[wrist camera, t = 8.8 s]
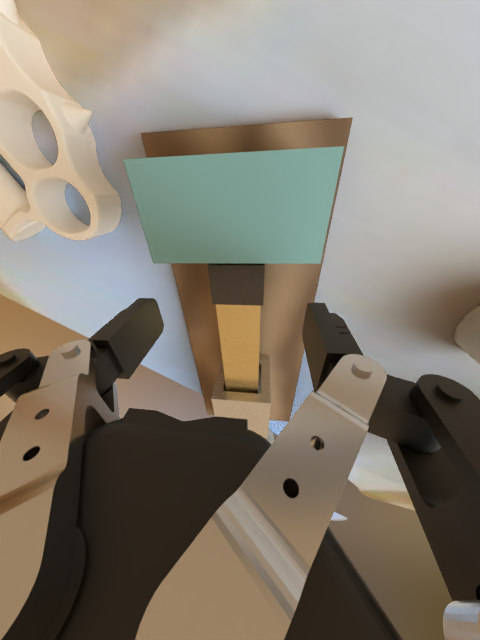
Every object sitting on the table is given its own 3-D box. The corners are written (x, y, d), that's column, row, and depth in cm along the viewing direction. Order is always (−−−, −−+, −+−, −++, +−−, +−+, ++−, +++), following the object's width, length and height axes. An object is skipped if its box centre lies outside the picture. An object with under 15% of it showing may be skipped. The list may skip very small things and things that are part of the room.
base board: (344, 123, 13) (352, 117, 12) (288, 412, 34) (289, 421, 33) (151, 137, 15) (141, 133, 14) (209, 406, 35) (207, 414, 34)
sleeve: (269, 356, 25) (270, 403, 19) (265, 416, 33) (265, 461, 27) (222, 353, 25) (211, 398, 20) (229, 413, 33) (222, 456, 28)
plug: (267, 189, 13) (267, 190, 10) (259, 388, 26) (258, 416, 23) (213, 191, 14) (197, 193, 11) (231, 386, 26) (226, 413, 23)
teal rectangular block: (313, 160, 13) (344, 146, 8) (302, 237, 16) (320, 263, 11) (174, 167, 15) (122, 159, 9) (187, 238, 17) (153, 263, 12)
